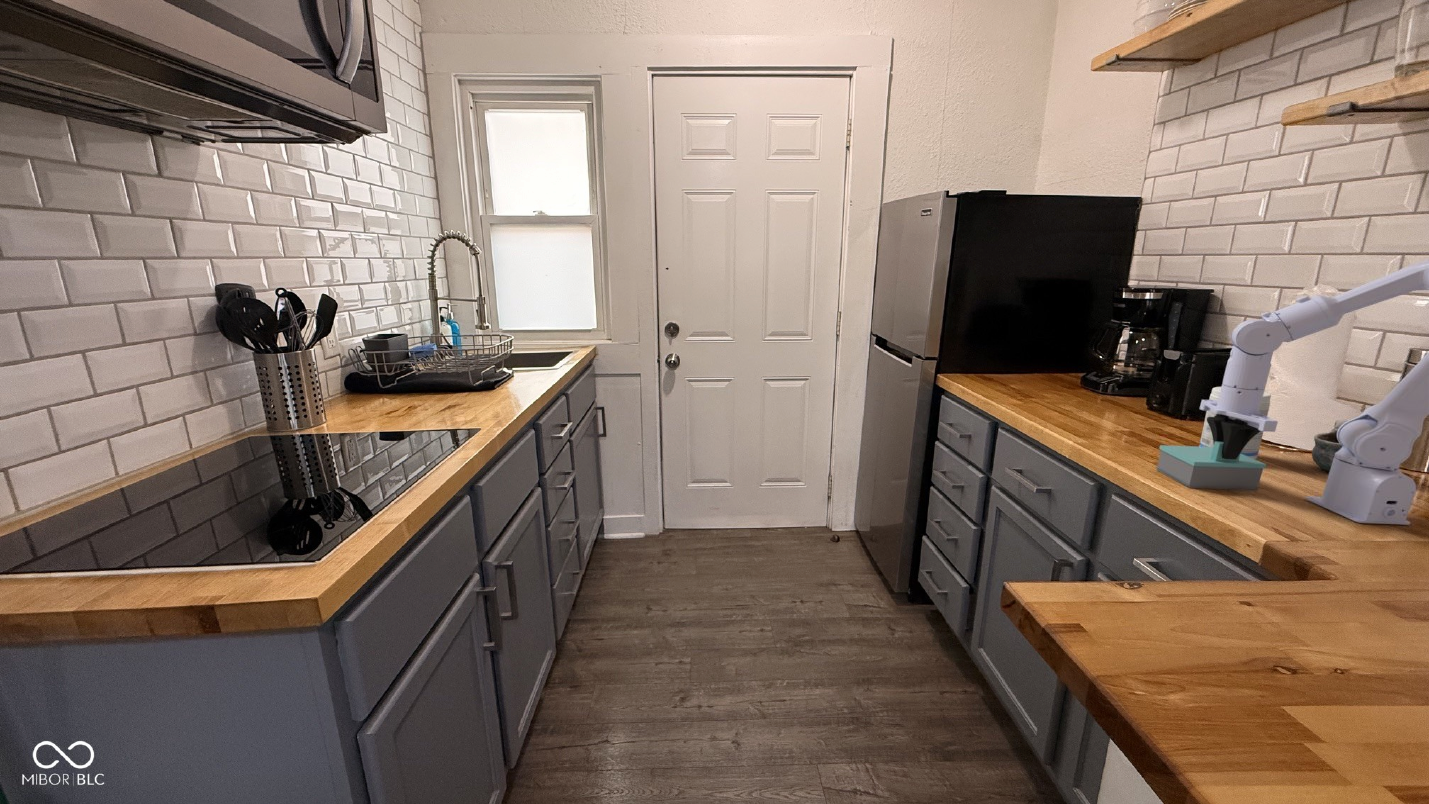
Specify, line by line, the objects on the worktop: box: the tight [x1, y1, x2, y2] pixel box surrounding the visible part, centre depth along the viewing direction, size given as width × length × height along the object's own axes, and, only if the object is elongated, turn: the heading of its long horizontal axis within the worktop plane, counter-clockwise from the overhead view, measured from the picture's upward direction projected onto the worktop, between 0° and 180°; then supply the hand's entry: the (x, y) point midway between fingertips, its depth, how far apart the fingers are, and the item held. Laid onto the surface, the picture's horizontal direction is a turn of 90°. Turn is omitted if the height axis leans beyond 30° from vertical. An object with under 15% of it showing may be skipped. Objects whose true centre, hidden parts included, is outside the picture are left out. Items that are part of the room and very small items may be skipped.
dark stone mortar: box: [1311, 419, 1350, 473], centre depth 113 cm, size 10×12×10 cm
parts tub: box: [1156, 450, 1264, 491], centre depth 108 cm, size 9×12×4 cm
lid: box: [1159, 441, 1267, 469], centre depth 107 cm, size 9×12×5 cm
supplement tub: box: [1198, 386, 1272, 460], centre depth 120 cm, size 10×10×15 cm
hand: (1225, 456), depth 104 cm, fingers closed
